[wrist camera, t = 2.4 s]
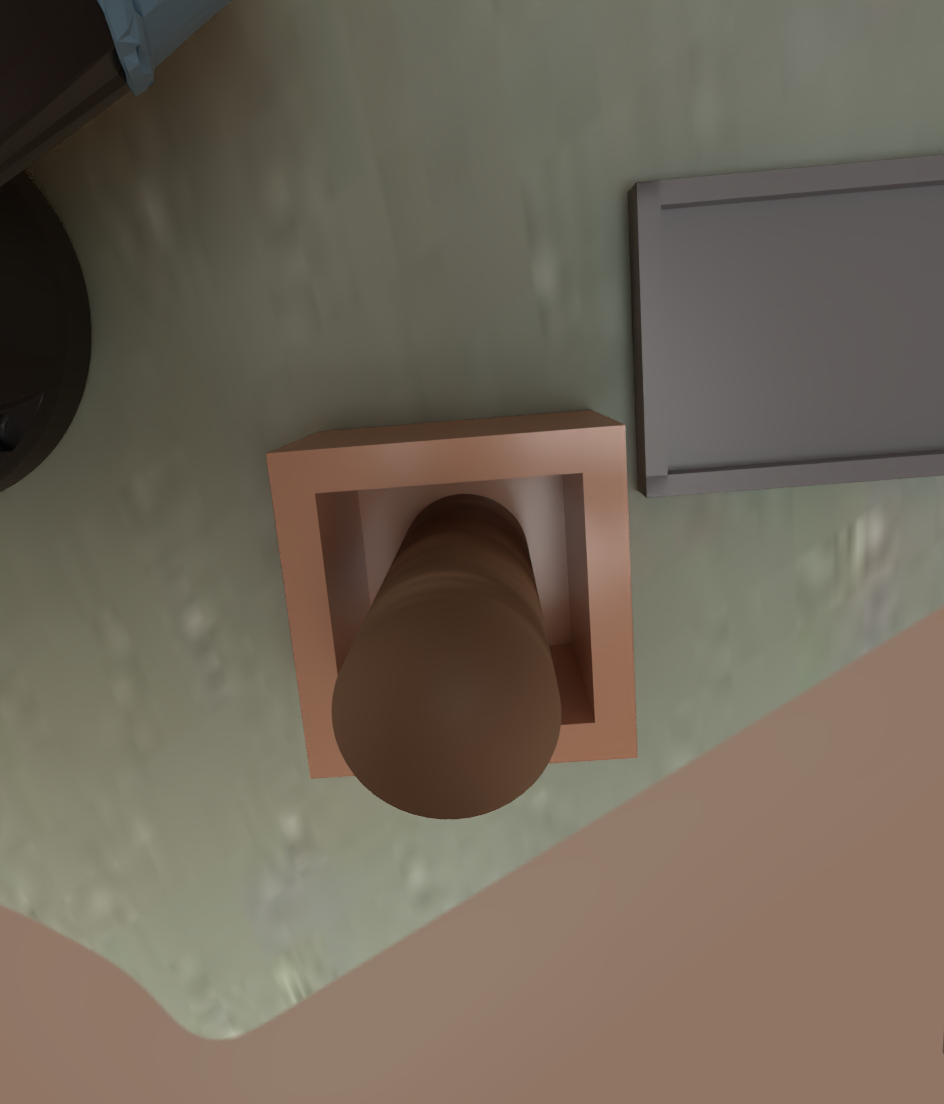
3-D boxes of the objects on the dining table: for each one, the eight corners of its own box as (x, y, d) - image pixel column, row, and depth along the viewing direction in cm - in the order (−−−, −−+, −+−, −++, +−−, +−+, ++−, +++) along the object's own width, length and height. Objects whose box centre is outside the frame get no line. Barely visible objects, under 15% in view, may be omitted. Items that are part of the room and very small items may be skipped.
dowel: (409, 620, 33) (345, 825, 18) (396, 498, 32) (317, 613, 17) (532, 611, 33) (567, 812, 18) (524, 489, 32) (554, 597, 17)
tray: (638, 490, 32) (646, 497, 30) (627, 192, 30) (636, 182, 28) (999, 462, 32) (1028, 468, 30) (1019, 157, 29) (1053, 144, 27)
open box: (351, 683, 34) (310, 778, 26) (320, 431, 32) (266, 453, 24) (603, 666, 34) (637, 757, 26) (591, 409, 31) (625, 425, 24)
